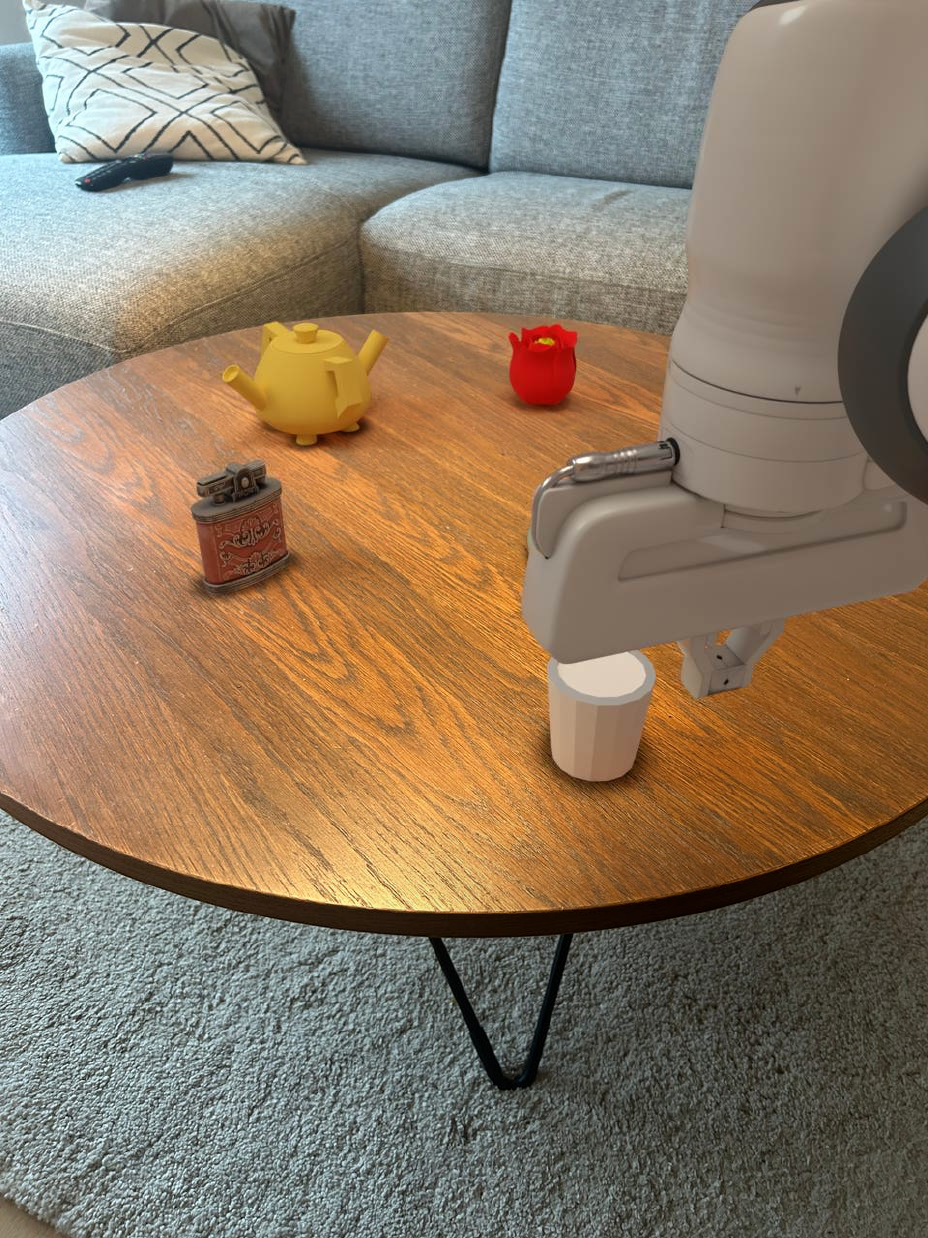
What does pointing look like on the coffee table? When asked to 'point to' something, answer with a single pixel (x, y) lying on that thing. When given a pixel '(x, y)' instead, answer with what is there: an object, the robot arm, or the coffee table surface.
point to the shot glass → (599, 713)
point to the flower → (543, 364)
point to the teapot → (309, 380)
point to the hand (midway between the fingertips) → (713, 686)
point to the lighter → (240, 527)
